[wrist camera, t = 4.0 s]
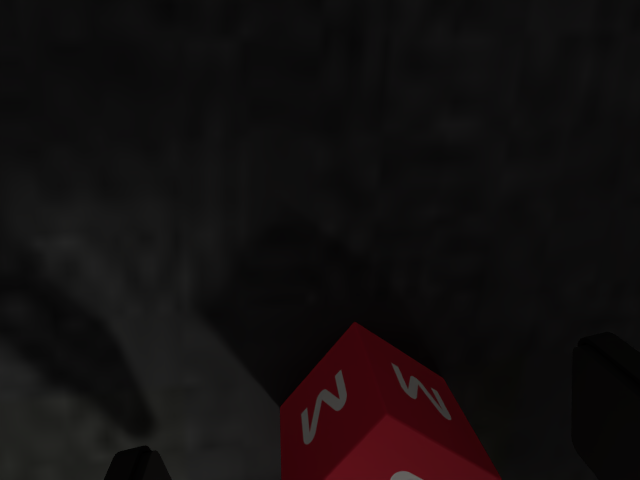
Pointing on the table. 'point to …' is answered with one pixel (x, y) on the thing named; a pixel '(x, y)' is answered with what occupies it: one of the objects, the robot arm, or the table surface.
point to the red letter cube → (377, 420)
